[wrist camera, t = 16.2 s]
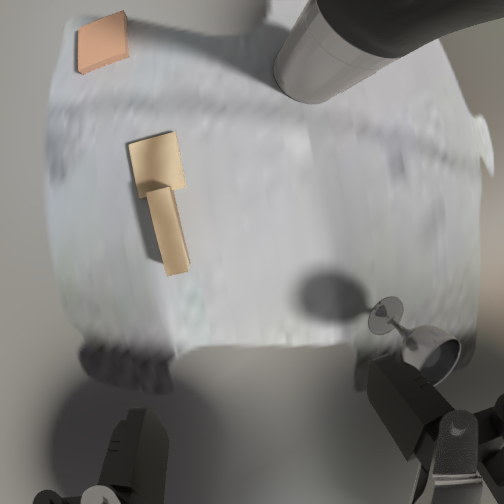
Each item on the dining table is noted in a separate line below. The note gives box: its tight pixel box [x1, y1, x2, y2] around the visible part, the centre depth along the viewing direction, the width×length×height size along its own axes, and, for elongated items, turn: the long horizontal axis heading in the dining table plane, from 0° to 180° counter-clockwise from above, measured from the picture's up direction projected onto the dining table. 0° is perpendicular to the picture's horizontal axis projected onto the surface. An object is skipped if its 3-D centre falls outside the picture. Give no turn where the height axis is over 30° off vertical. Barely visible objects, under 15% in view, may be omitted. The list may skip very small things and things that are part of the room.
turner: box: [129, 132, 190, 276], centre depth 32 cm, size 6×16×4 cm, turn 10°
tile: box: [78, 11, 129, 75], centre depth 26 cm, size 7×2×8 cm
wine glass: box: [368, 297, 461, 386], centre depth 35 cm, size 8×8×15 cm
